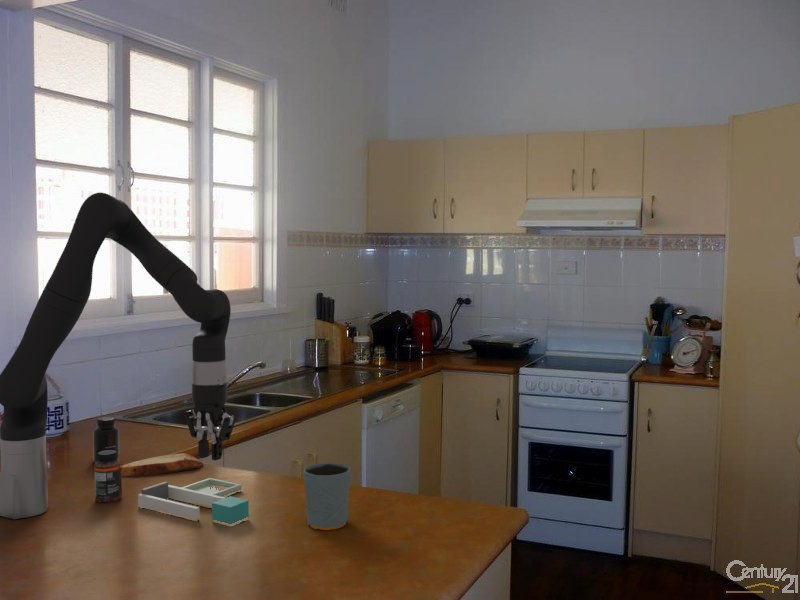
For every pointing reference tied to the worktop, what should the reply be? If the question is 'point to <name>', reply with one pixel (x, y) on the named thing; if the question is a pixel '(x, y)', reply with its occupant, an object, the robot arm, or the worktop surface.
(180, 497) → the white u-shaped frame
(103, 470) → the supplement bottle
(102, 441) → the supplement bottle
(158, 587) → the worktop surface
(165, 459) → the bread slice
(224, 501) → the teal block
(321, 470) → the grey blue cup
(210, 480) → the tray
